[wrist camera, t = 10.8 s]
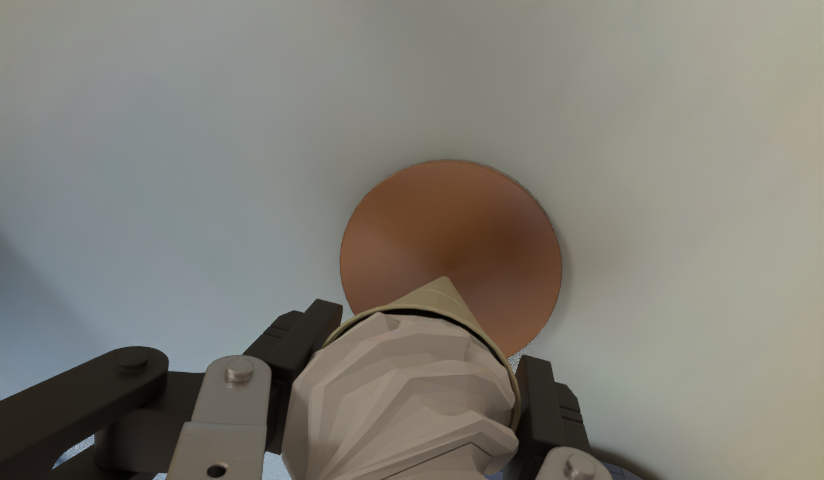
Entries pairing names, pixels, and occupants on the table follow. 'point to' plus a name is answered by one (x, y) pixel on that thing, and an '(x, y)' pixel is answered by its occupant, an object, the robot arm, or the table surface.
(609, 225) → the table surface
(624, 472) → the plate
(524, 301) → the coaster
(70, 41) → the table surface
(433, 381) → the ice cream cone
